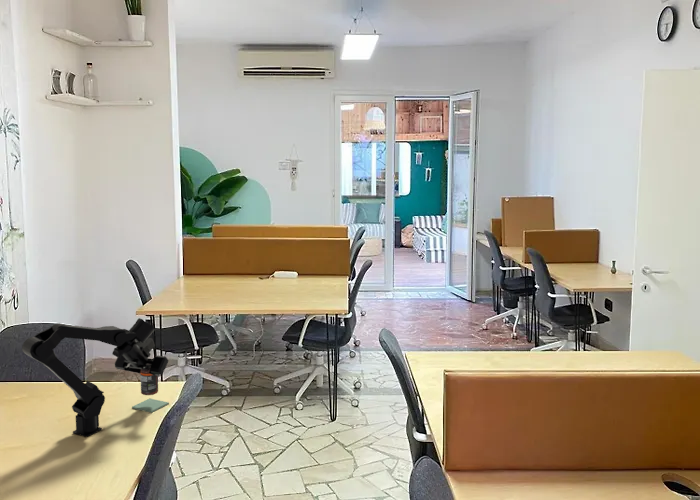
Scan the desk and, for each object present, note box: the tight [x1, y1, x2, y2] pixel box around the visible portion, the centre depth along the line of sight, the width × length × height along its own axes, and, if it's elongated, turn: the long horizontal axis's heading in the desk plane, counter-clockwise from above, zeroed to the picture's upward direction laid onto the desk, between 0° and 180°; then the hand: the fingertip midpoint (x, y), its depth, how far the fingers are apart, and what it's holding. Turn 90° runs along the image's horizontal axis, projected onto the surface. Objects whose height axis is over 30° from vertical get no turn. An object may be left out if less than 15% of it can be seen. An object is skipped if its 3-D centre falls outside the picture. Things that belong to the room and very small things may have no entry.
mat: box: [131, 398, 170, 414], centre depth 230 cm, size 9×9×1 cm
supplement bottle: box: [140, 365, 159, 396], centre depth 228 cm, size 6×6×11 cm
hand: (151, 374), depth 229 cm, fingers closed on supplement bottle, 6 cm apart
